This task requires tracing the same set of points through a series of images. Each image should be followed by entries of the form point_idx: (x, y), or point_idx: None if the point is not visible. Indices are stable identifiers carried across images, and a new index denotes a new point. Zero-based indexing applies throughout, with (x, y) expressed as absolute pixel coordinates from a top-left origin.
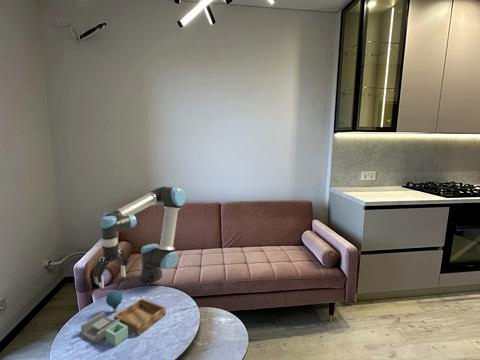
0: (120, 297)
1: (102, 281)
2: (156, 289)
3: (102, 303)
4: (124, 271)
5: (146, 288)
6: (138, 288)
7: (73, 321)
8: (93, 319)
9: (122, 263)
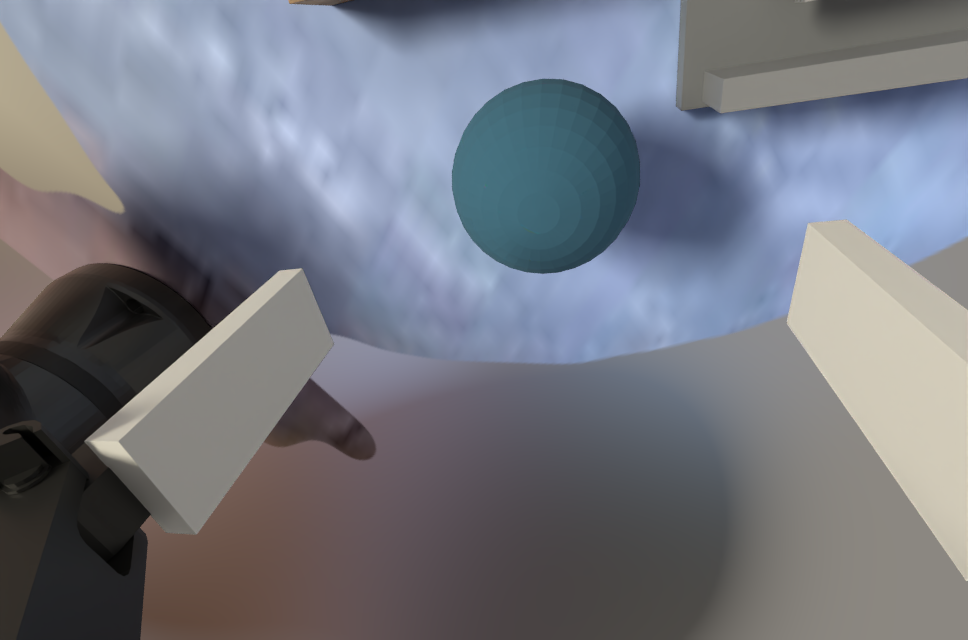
0: (506, 98)
1: (954, 307)
2: (142, 150)
3: (547, 328)
4: (224, 335)
5: (215, 236)
6: None
7: None
8: (896, 51)
9: (53, 558)
